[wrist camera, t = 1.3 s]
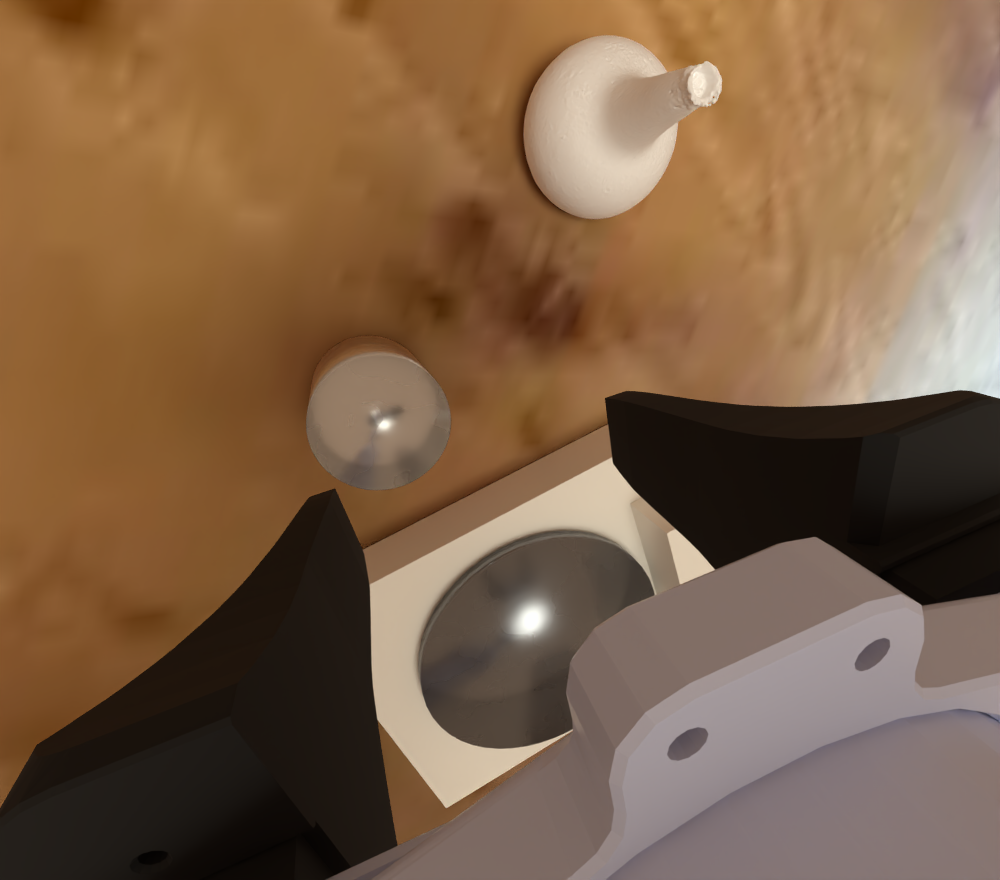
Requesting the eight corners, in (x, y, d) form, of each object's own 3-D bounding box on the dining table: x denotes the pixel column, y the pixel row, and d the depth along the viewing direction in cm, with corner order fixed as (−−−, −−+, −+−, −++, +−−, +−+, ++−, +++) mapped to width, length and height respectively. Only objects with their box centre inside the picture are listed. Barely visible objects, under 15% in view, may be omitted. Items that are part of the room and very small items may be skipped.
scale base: (436, 760, 30) (461, 877, 25) (304, 579, 23) (295, 683, 18) (679, 614, 33) (753, 689, 27) (625, 415, 26) (708, 458, 20)
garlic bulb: (630, 48, 21) (785, -97, 13) (656, 203, 23) (804, 151, 15) (496, 81, 20) (585, -59, 12) (536, 241, 22) (634, 204, 14)
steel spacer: (345, 462, 22) (350, 512, 18) (288, 364, 20) (276, 394, 16) (443, 415, 23) (471, 452, 19) (398, 316, 21) (416, 331, 16)
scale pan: (476, 772, 27) (480, 786, 27) (370, 617, 22) (372, 629, 21) (667, 656, 29) (676, 666, 29) (616, 485, 24) (625, 493, 23)
